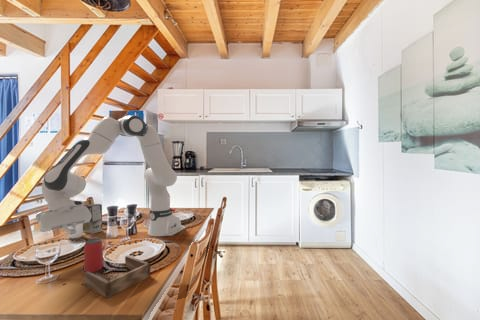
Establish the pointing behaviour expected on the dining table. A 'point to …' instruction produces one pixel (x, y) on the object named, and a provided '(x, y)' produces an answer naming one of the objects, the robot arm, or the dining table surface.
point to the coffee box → (94, 219)
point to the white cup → (79, 231)
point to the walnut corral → (119, 278)
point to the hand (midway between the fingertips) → (72, 233)
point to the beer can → (93, 255)
